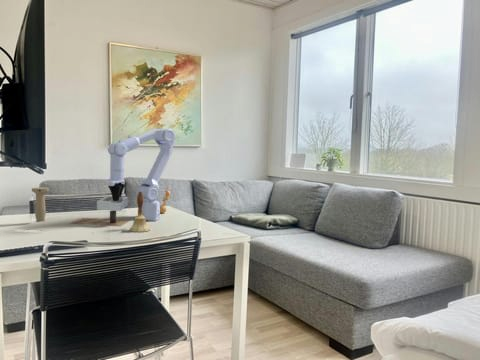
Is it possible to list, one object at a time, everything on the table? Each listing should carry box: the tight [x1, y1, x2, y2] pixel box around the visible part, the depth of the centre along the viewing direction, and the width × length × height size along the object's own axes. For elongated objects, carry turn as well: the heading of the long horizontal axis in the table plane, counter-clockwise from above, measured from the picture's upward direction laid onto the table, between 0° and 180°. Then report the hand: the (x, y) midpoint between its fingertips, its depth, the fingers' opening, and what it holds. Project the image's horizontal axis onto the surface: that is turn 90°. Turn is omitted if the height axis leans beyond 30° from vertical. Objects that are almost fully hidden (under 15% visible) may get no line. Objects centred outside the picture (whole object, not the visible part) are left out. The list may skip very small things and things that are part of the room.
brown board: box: [68, 210, 131, 227], centre depth 173 cm, size 22×13×6 cm, turn 87°
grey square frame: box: [96, 195, 130, 212], centre depth 172 cm, size 10×10×4 cm
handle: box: [31, 186, 50, 223], centre depth 170 cm, size 5×6×15 cm
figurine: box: [160, 189, 172, 214], centre depth 205 cm, size 8×6×12 cm
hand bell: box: [129, 192, 151, 233], centre depth 164 cm, size 8×8×16 cm
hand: (116, 200), depth 176 cm, fingers closed on grey square frame, 2 cm apart
